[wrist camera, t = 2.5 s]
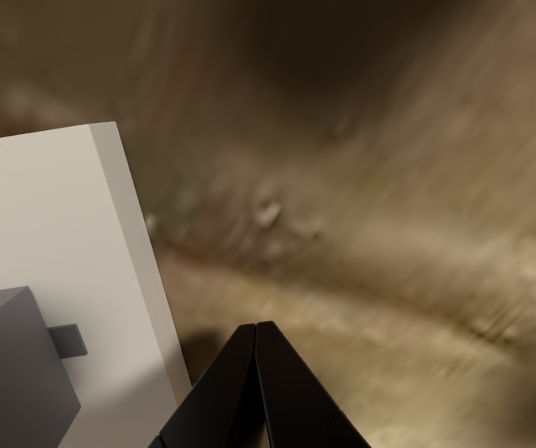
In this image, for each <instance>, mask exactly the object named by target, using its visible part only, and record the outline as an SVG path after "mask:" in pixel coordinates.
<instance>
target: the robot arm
mask: <svg viewBox="0 0 536 448" xmlns="http://www.w3.org/2000/svg"><path fill="white" fill-rule="evenodd" d="M266 427H267V433H268V438H269V444H270V448H371V446H370V445H369V444H368V443H367V442H366V440H365V439H364V438H363V437H362V436H361V434H360V433H359V432H358V431H357V429H356V428H355V427H354V426H353V425H352V423H351V422H350V421H349V419H348V418H347V417H346V415H345V414H344V413H343V412H342V410H340V409H339V407H338V405H337V404H336V403H335V401H334V400H333V399H332V397H331V396H330V395H329V394H328V392H327V391H326V390H325V388H324V387H323V386H322V384H321V383H320V382H319V380H318V379H317V378H316V377H315V375H314V374H313V373H312V371H311V370H310V369H309V367H308V366H307V365H306V363H305V362H304V361H303V360H302V358H301V357H300V356H299V354H298V353H297V352H296V350H295V349H294V348H293V346H292V345H291V344H290V343H289V341H288V340H287V339H286V337H285V336H284V335H283V333H282V332H281V331H280V329H279V328H278V327H277V326H276V324H275V323H274V322H273V321H265V322H259V323H257V325H256V324H254V323H251V324H244V325H240V326H238V328H237V329H236V330H235V332H234V333H233V334H232V336H231V337H230V338H229V340H228V341H227V342H226V344H225V345H224V346H223V348H222V349H221V350H220V352H219V353H218V354H217V356H216V357H215V358H214V360H213V361H212V362H211V364H210V365H209V366H208V368H207V369H206V370H205V372H204V373H203V374H202V376H201V377H200V378H199V380H198V381H197V382H196V384H195V385H194V386H193V388H192V389H191V390H190V391H189V393H188V394H187V395H186V397H185V398H184V399H183V401H182V402H181V403H180V405H179V406H178V407H177V409H176V410H175V411H174V413H173V414H172V415H171V417H170V418H169V419H168V421H167V422H166V423H165V425H164V426H163V427H162V429H161V430H160V431H159V435H160V436H159V435H157V436H156V437H155V438H154V439H153V441H152V442H151V443H150V445H149V446H148V447H147V448H265V445H266Z"/></svg>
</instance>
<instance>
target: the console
mask: <svg viewBox="0 0 536 448" xmlns="http://www.w3.org/2000/svg"><path fill="white" fill-rule="evenodd" d="M23 286H29V289H30V291H31V293H32V295H33V298H34V300H35V302H36V305H37V307H38V309H39V311H40V314H41V316H42V318H43V320H44V323H45V325H46V327H47V330H48V332H49V334H50V336H51V339H52V341H53V343H54V345H55V348H56V350H57V352H58V355H59V357H60V359H61V361H62V364H63V366H64V368H65V370H66V373H67V375H68V377H69V380H70V382H71V384H72V386H73V389H74V391H75V393H76V395H77V398H78V400H79V402H80V405H81V409H80V410H79V412H78V414H77V415H76V417H75V419H74V420H73V422H72V424H71V426H70V427H69V429H68V431H67V432H66V434H65V436H64V437H63V439H62V441H61V443H60V444H59V446H58V448H147V447H148V446H149V445H150V443H151V442H152V441H153V439H154V438H155V437H156V436H157V435H159V431H160V430H161V429H162V427H163V426H164V425H165V423H166V422H167V421H168V419H169V418H170V417H171V415H172V414H173V413H174V411H175V410H176V409H177V407H178V406H179V405H180V403H181V402H182V401H183V399H184V398H185V397H186V395H187V394H188V393H189V391H190V390H191V389H192V385H191V382H190V378H189V375H188V372H187V368H186V365H185V361H184V358H183V354H182V351H181V347H180V344H179V340H178V337H177V333H176V330H175V326H174V323H173V319H172V316H171V313H170V309H169V306H168V302H167V299H166V295H165V292H164V288H163V285H162V281H161V278H160V274H159V271H158V267H157V264H156V260H155V257H154V254H153V250H152V247H151V243H150V240H149V236H148V233H147V229H146V226H145V222H144V219H143V215H142V212H141V208H140V205H139V201H138V198H137V195H136V191H135V188H134V184H133V181H132V177H131V174H130V170H129V167H128V163H127V160H126V156H125V153H124V149H123V146H122V142H121V139H120V136H119V132H118V129H117V125H116V122H115V121H114V122H104V123H94V124H85V125H79V126H73V127H67V128H60V129H54V130H48V131H41V132H35V133H29V134H23V135H16V136H10V137H4V138H0V290H2V289H9V288H16V287H23ZM159 436H160V435H159Z"/></svg>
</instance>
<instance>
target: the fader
mask: <svg viewBox="0 0 536 448" xmlns="http://www.w3.org/2000/svg"><path fill="white" fill-rule="evenodd" d="M80 409H81V405H80V402H79V400H78V398H77V395H76V393H75V391H74V389H73V386H72V384H71V382H70V380H69V377H68V375H67V373H66V370H65V368H64V366H63V364H62V361H61V359H60V357H59V355H58V352H57V350H56V348H55V345H54V343H53V341H52V339H51V336H50V334H49V332H48V330H47V327H46V325H45V323H44V320H43V318H42V316H41V314H40V311H39V309H38V307H37V305H36V302H35V300H34V298H33V295H32V293H31V291H30V289H29V286H23V287H16V288H9V289H2V290H0V448H58V446H59V444H60V443H61V441H62V439H63V437H64V436H65V434H66V432H67V431H68V429H69V427H70V426H71V424H72V422H73V420H74V419H75V417H76V415H77V414H78V412H79V410H80Z"/></svg>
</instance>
